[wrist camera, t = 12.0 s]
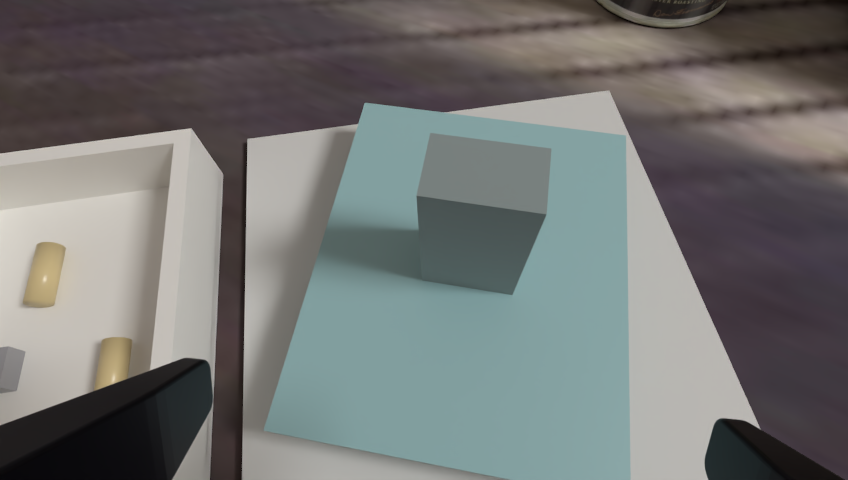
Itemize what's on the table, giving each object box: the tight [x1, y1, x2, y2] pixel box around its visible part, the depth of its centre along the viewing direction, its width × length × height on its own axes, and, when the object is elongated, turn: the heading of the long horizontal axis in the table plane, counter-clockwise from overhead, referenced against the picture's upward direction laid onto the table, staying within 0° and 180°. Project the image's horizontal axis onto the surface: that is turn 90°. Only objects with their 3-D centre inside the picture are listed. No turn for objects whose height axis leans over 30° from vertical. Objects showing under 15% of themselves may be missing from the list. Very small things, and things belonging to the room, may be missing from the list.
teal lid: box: [264, 103, 631, 480], centre depth 19 cm, size 17×14×10 cm
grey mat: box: [242, 91, 760, 480], centre depth 24 cm, size 22×22×1 cm
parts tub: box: [0, 129, 223, 480], centre depth 22 cm, size 16×13×4 cm
